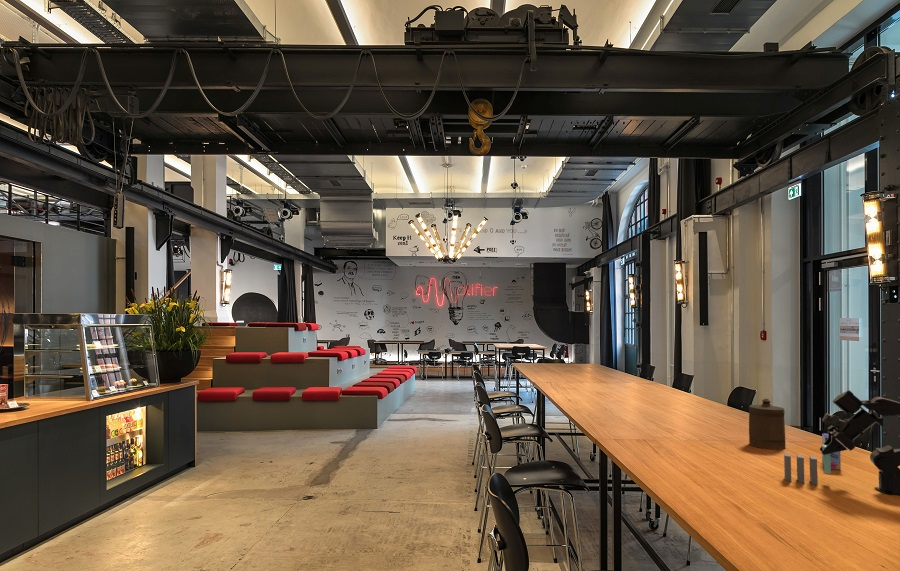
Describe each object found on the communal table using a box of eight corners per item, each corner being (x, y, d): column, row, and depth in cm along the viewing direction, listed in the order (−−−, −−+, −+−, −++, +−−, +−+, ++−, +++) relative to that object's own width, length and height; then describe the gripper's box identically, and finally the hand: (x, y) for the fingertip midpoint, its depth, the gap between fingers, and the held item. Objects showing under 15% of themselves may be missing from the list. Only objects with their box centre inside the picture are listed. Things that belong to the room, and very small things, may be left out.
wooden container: (785, 445, 259) (784, 398, 261) (785, 451, 247) (784, 402, 248) (750, 441, 267) (749, 395, 269) (748, 447, 255) (747, 399, 256)
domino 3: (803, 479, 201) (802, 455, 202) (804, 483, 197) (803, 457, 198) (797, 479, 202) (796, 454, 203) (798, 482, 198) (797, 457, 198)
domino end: (790, 478, 203) (789, 453, 204) (791, 481, 199) (790, 456, 200) (784, 477, 204) (784, 453, 205) (785, 480, 200) (785, 455, 200)
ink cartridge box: (842, 470, 216) (840, 432, 217) (825, 468, 218) (824, 431, 219) (838, 464, 224) (836, 428, 225) (821, 462, 227) (820, 427, 228)
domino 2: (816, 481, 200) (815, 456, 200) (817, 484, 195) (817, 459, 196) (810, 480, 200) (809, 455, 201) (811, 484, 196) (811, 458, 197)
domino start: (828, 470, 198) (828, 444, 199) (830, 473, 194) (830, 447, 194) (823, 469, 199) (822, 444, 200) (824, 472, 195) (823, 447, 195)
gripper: (833, 403, 204) (799, 430, 209) (841, 410, 188) (805, 439, 192) (860, 426, 200) (825, 453, 204) (871, 435, 184) (833, 465, 188)
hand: (821, 452), depth 197 cm, fingers closed on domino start, 5 cm apart
